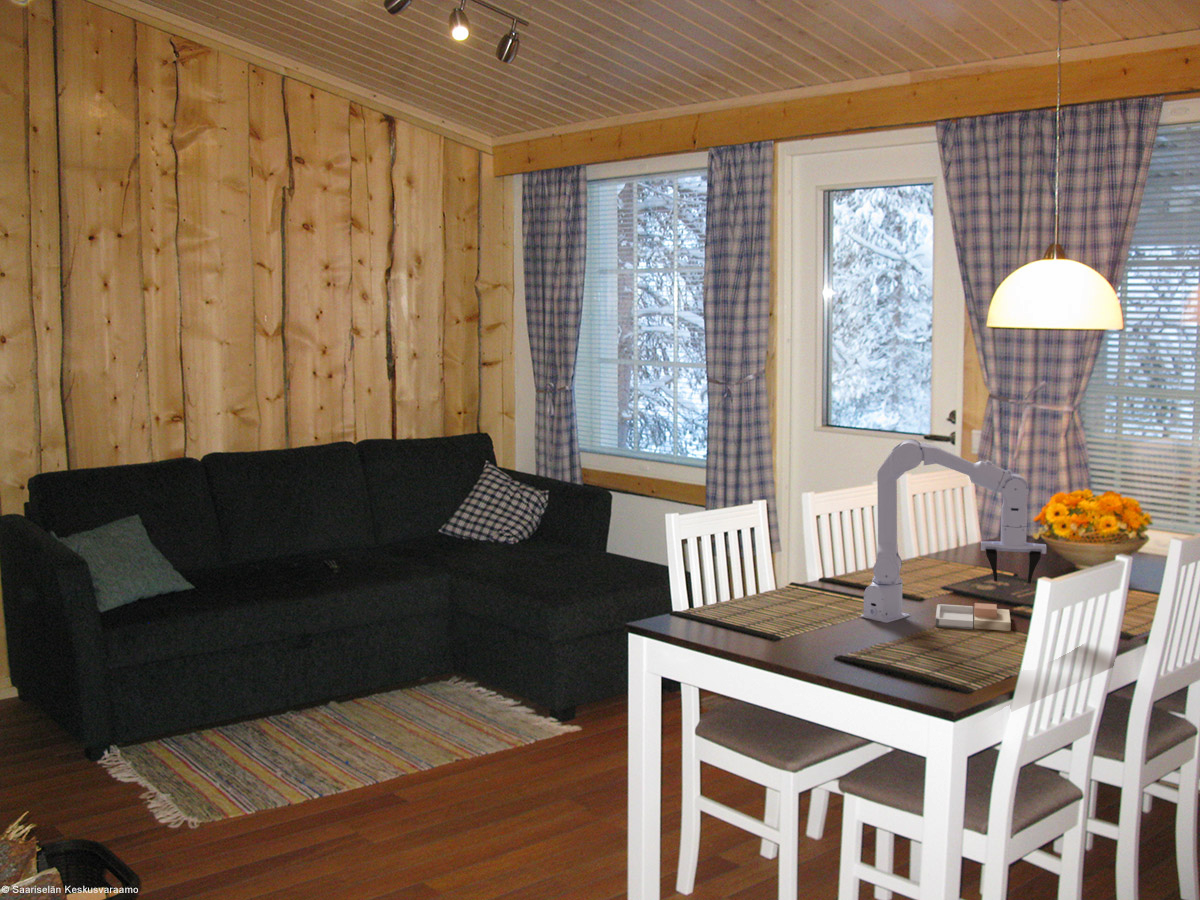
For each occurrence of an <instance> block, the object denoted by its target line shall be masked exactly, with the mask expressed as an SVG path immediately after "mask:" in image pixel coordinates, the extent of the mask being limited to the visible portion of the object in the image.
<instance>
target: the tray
mask: <svg viewBox="0 0 1200 900" xmlns="http://www.w3.org/2000/svg"><path fill="white" fill-rule="evenodd" d="M935 627H936V628H949V629H963V630H974V605H973V606H972V605H957V604H944V603H942V604H941V603H937V604H936V612H935Z"/></svg>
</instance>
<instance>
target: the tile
mask: <svg viewBox="0 0 1200 900" xmlns="http://www.w3.org/2000/svg"><path fill="white" fill-rule="evenodd" d="M997 606H998V605H997V603H995V604H994V603H979V602H974V607H975V610H974V609H973V613H974V612H975V616H977V617H992V618H997V609H998V608H997Z"/></svg>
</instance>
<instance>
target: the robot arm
mask: <svg viewBox="0 0 1200 900" xmlns="http://www.w3.org/2000/svg"><path fill="white" fill-rule="evenodd" d="M922 462H923V466H930V465H940V466H941V467H944V468H947V469H950V470H952V471H955V472H958V473H961V474H964V475H966V476H968V477H969V479H970V482H971V483H972V484H974V485H976V486H979V487H981V488H984V489H986V490H988V491H992V492H994V493H995V494H998V493H1001V494H1002V504H1001V511H1000V512H1001V514H1000V515H1001V519H1000V520H1001V521H1000V541H999V540H998V541H996V540H995V541H991V540H989V541H985V540H984V541H980V551H982V552H985V555H986V558H987V560H988V561H989V564H990V567H991V571H992V576H993V582H996V583H997V582H998V567H997V566H998V552H1015V553H1028V568H1027V577H1026V578H1027V579H1026V582H1027V584H1031V583H1032V579H1033V575H1034V572H1035V570H1036V567H1037V566H1038V564H1039V562H1040V559H1041V557H1042V555H1045V554H1046V555H1047V544H1045V543H1035V542H1028V541H1027V531H1028V506H1027V504H1028V498H1027V497H1028V495H1029V493H1030V488H1029V485H1028V481H1027V480H1026V478H1025V477H1024V476H1022V475H1021V474H1019V473H1018V472H1013V470H1011V469H1007V470H1006V469H1005V468H1001V467H999V466H995V465H993V462H992V461H991V460H988V459H987V460H986V461H984V460H979V461H977V462H972V461H969V460H967V459H965V458H963V457H960V456H958V455H956V454H954V453H952V452H950V451H947V450H945V449H942V448H941V447H938V446H935V445H932V444H929V443H927V442H922V441H921V442H920V441H917V440H916V439H912V438H909V439H908V438H907V439H905V440H902V441H901V442H900V443H899V444H897V445H896V446H894V448H892V450H891V452H890V453H889V455H888V456H887V458H886V459H885V460H884V462H883V463H882V464H881V466H880V467H879V469H878V471H877V473H876V474H877V475H876V476H877V482H876V483H877V484H876V485H877V487H876V488H877V551H876V559H875V563H874V566H873V568H872V572H873V576H872V581H871V583H870V585H868V586H866V588H865V590H864V592H863V614H860V617H861V618H864V619H868V620H873V621H878V622H881V623H885V624H888V623H891V622H895V621H898V620H901V619H904V618H907V617H910V614H909V613H905V612H903V581H904V579H903V578H902V577H900V573H901V569H902V566H903V562H902V561H903V560H902V559H901V556H900V555H899V546H898V545H899V544H898V486H897V485H898V479H899V478H900V477H902V476H903V475H904V474H905V473H906V472H909V471H911V470H913V469H915V468H917V467H919V465H921V463H922Z"/></svg>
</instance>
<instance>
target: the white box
mask: <svg viewBox="0 0 1200 900" xmlns="http://www.w3.org/2000/svg"><path fill="white" fill-rule="evenodd" d="M974 610H975V606H973V629H978V630H979V629H980V630H994V631H1006V632H1007V631H1008V632H1011V629H1012V628H1011V627H1012V626H1011V623H1012V621H1011V615H1010V614H1011V613H1010V609H1004V608H997V618H992V617H977V616H975V612H974Z"/></svg>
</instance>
